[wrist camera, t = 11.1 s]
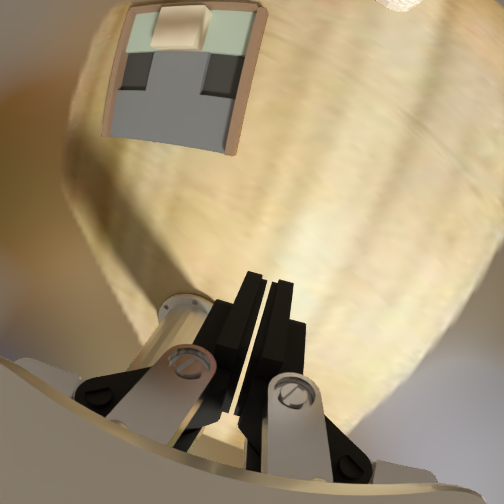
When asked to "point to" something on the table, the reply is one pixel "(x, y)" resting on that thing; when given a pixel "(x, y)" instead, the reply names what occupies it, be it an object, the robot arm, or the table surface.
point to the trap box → (185, 80)
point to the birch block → (181, 28)
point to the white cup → (399, 4)
